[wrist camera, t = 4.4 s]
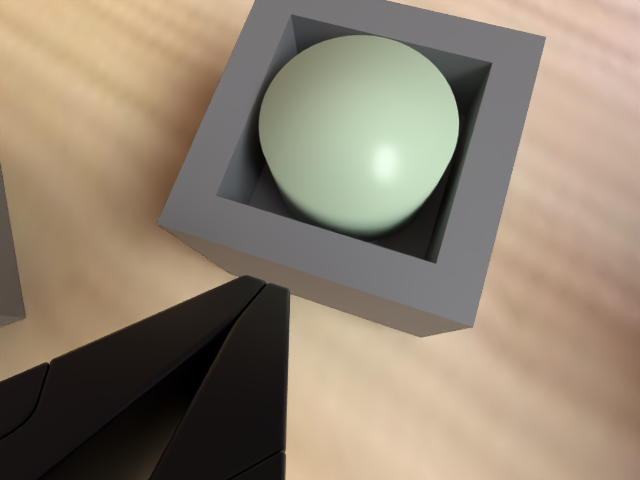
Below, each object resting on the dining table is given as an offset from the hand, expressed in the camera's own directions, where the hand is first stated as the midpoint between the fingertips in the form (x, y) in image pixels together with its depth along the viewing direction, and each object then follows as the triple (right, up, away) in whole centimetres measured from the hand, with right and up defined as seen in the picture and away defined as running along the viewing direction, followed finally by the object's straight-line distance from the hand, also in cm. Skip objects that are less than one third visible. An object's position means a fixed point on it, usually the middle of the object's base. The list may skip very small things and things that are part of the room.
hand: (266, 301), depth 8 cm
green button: (+2, +4, +7) cm, 9 cm away
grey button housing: (+2, +2, +13) cm, 13 cm away
